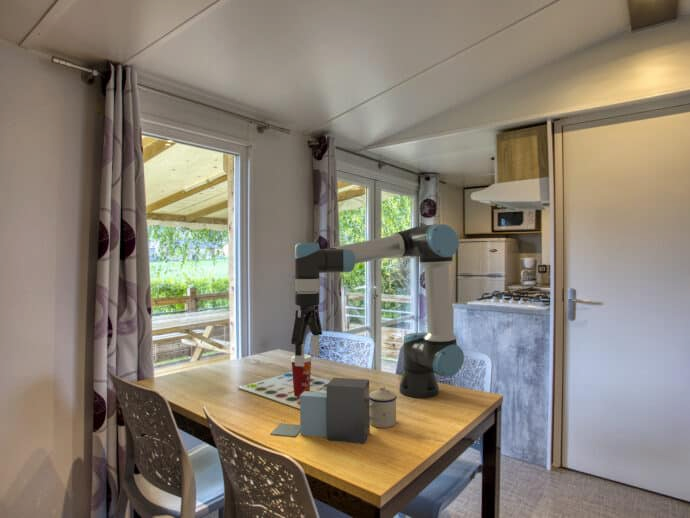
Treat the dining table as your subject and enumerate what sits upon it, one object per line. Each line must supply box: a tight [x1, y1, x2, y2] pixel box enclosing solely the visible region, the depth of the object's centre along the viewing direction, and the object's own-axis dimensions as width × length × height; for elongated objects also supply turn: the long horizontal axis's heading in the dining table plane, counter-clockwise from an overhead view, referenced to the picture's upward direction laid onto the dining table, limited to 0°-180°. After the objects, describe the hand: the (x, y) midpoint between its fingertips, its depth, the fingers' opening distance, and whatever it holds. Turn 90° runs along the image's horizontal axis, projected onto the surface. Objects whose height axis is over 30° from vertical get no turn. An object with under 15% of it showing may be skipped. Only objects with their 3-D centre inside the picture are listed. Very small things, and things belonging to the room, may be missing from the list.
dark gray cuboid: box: [323, 377, 371, 445], centre depth 126 cm, size 12×8×16 cm, turn 76°
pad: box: [270, 422, 301, 438], centre depth 130 cm, size 8×8×1 cm
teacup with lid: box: [369, 385, 397, 429], centre depth 134 cm, size 12×9×12 cm
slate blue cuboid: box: [299, 391, 327, 438], centre depth 127 cm, size 14×4×12 cm, turn 76°
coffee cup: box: [290, 353, 313, 397], centre depth 163 cm, size 8×8×15 cm
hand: (307, 360), depth 131 cm, fingers open, 13 cm apart
